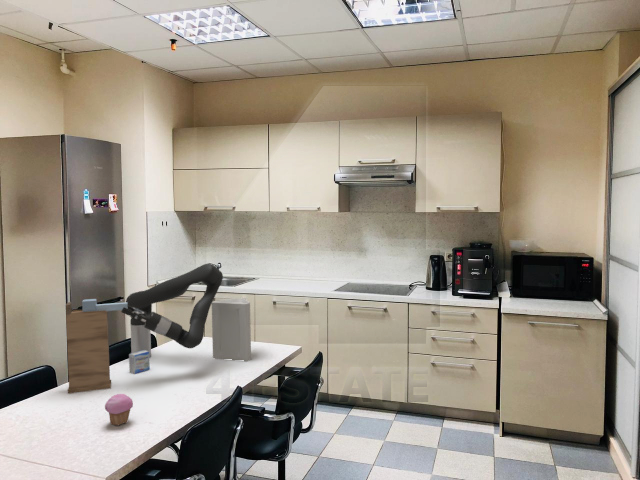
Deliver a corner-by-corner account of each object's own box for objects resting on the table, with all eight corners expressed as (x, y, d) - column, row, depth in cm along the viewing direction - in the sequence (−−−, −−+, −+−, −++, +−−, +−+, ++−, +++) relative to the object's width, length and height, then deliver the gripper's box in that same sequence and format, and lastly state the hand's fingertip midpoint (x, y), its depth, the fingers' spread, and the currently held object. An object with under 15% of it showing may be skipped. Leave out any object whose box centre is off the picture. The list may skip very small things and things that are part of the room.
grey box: (260, 353, 255) (259, 298, 254) (247, 361, 241) (246, 304, 240) (226, 350, 261) (225, 297, 260) (212, 358, 247) (210, 302, 245)
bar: (83, 311, 207) (83, 299, 207) (127, 307, 213) (127, 296, 212) (82, 313, 203) (82, 301, 202) (127, 309, 208) (127, 298, 208)
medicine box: (134, 374, 224) (134, 355, 224) (129, 372, 227) (128, 353, 227) (150, 369, 231) (149, 351, 230) (144, 367, 233) (143, 349, 233)
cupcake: (125, 416, 178) (124, 388, 178) (138, 422, 173) (137, 394, 172) (100, 424, 171) (99, 395, 171) (113, 431, 166) (112, 401, 165)
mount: (69, 387, 208) (66, 302, 205) (111, 382, 213) (108, 299, 211) (67, 393, 201) (64, 305, 199) (110, 388, 207) (107, 302, 204)
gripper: (161, 312, 222) (127, 297, 217) (163, 319, 209) (126, 302, 204) (153, 328, 221) (118, 312, 216) (154, 335, 208) (117, 319, 203)
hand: (122, 307), depth 210 cm, fingers open, 8 cm apart
